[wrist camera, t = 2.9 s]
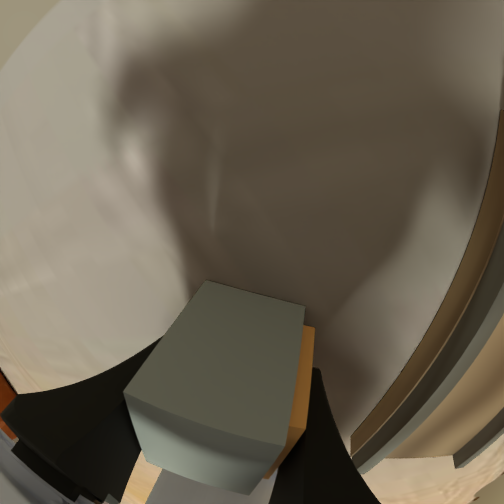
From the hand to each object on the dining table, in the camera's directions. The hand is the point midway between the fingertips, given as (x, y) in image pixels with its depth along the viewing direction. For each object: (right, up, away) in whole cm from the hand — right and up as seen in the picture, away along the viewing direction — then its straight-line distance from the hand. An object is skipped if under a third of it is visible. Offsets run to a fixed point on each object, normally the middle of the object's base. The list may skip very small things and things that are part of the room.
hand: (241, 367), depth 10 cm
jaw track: (+12, 0, -1) cm, 12 cm away
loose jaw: (0, +1, +1) cm, 2 cm away
